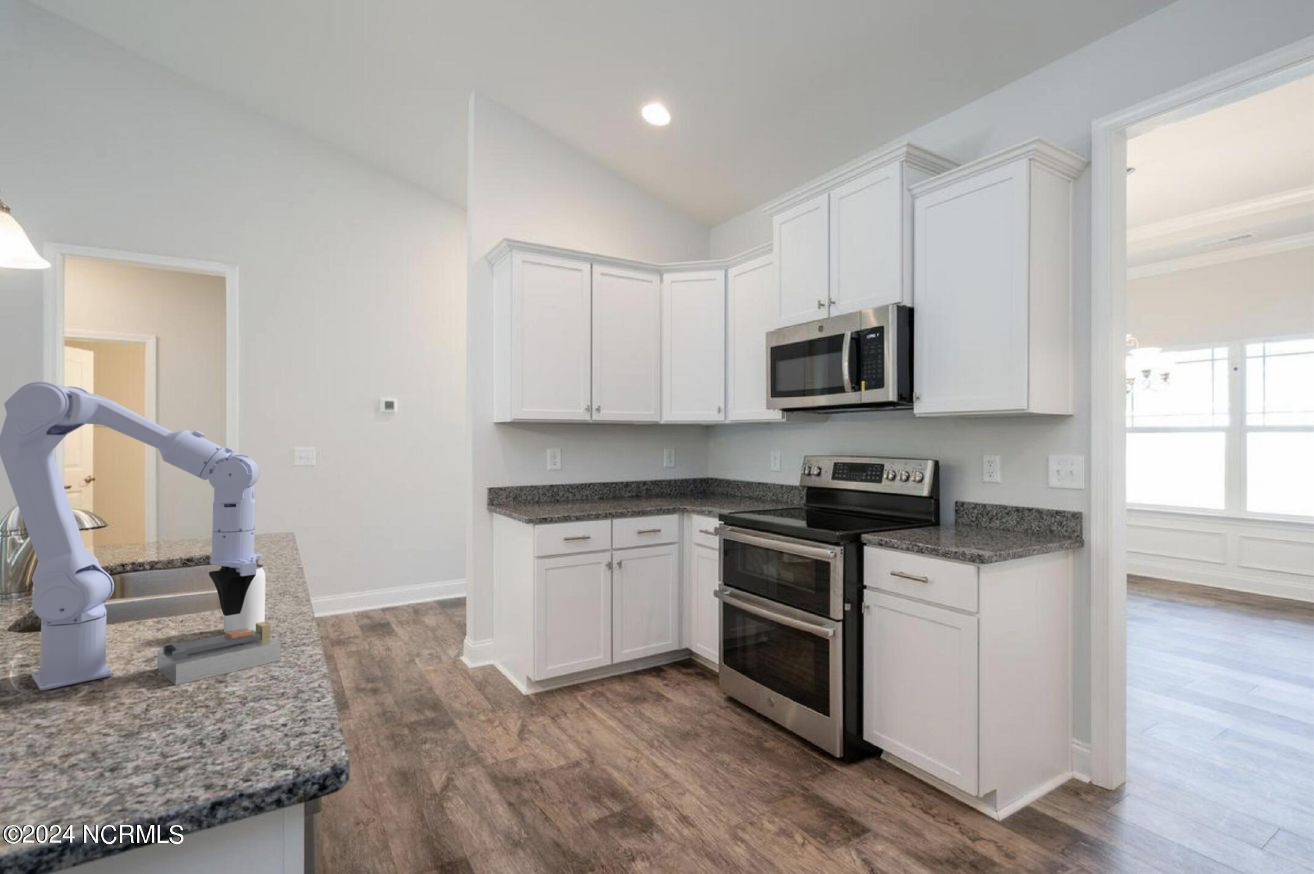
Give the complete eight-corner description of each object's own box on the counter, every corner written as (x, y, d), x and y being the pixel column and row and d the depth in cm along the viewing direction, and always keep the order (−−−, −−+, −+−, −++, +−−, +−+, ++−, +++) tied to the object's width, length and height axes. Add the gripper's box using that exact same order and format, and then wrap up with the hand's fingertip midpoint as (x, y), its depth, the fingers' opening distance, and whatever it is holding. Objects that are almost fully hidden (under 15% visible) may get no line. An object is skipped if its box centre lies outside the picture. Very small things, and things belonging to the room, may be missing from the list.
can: (249, 635, 115) (251, 570, 115) (215, 635, 115) (216, 569, 115) (272, 625, 122) (273, 563, 122) (239, 625, 122) (240, 563, 122)
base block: (157, 669, 98) (158, 635, 98) (258, 647, 109) (258, 617, 109) (175, 685, 91) (176, 649, 91) (280, 660, 102) (281, 628, 102)
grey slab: (171, 649, 97) (171, 640, 97) (251, 634, 105) (251, 626, 105) (178, 655, 94) (178, 646, 94) (260, 639, 103) (260, 630, 103)
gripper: (278, 532, 100) (276, 617, 100) (245, 523, 109) (243, 601, 109) (227, 536, 94) (224, 626, 94) (197, 527, 104) (195, 609, 103)
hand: (231, 614), depth 101 cm, fingers closed
